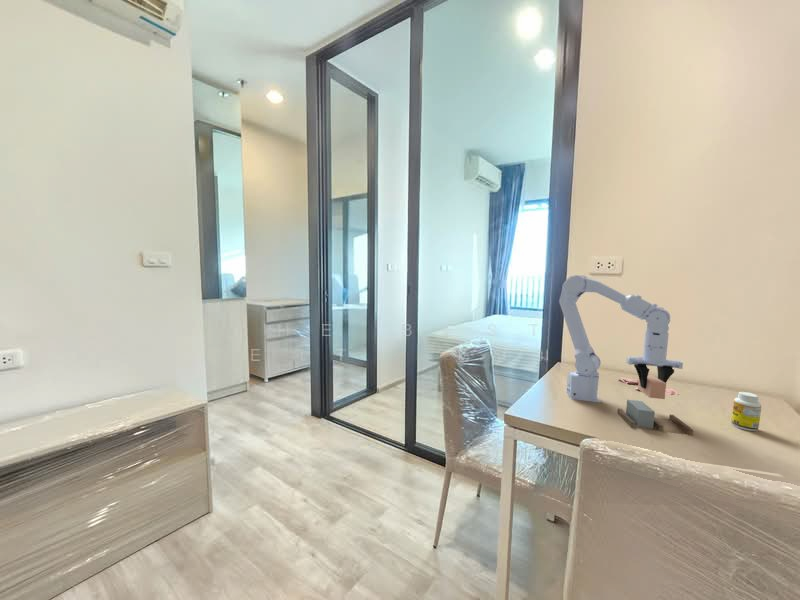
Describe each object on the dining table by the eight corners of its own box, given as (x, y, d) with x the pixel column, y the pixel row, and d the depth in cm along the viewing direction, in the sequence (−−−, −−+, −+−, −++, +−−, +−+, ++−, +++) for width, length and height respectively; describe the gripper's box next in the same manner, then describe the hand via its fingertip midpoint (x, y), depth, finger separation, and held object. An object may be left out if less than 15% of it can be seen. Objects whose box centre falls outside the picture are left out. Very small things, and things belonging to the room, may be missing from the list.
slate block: (637, 426, 94) (638, 409, 94) (625, 415, 102) (627, 399, 102) (653, 428, 93) (654, 411, 93) (640, 416, 101) (641, 401, 101)
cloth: (690, 398, 121) (691, 392, 121) (630, 396, 121) (631, 390, 121) (649, 380, 141) (650, 374, 141) (598, 378, 142) (599, 373, 141)
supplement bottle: (729, 421, 101) (733, 389, 100) (756, 427, 97) (760, 394, 96) (732, 427, 96) (736, 394, 96) (759, 434, 93) (764, 399, 92)
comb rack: (630, 428, 94) (631, 422, 94) (617, 414, 104) (617, 408, 103) (692, 436, 90) (693, 429, 90) (672, 421, 100) (673, 414, 100)
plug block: (649, 397, 101) (651, 381, 100) (637, 388, 109) (639, 374, 108) (664, 399, 100) (666, 383, 100) (651, 390, 108) (653, 375, 107)
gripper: (634, 347, 101) (631, 389, 102) (690, 351, 97) (685, 395, 98) (625, 342, 108) (621, 382, 109) (677, 346, 104) (672, 387, 105)
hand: (651, 388), depth 104 cm, fingers closed on plug block, 4 cm apart
